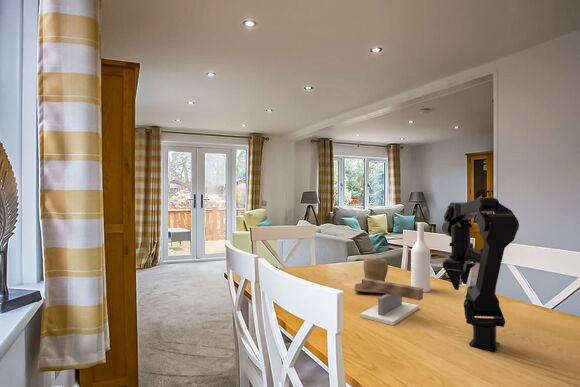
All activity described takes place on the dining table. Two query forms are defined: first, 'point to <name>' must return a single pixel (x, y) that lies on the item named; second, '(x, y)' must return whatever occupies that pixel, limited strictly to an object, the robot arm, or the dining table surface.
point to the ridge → (389, 310)
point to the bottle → (420, 262)
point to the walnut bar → (393, 288)
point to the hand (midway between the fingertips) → (460, 286)
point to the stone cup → (373, 272)
